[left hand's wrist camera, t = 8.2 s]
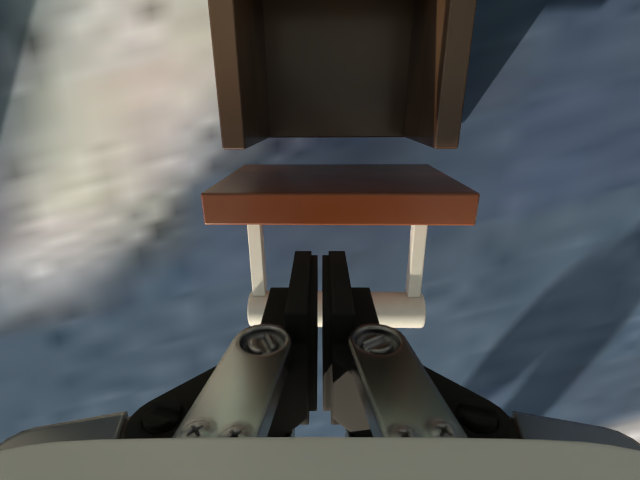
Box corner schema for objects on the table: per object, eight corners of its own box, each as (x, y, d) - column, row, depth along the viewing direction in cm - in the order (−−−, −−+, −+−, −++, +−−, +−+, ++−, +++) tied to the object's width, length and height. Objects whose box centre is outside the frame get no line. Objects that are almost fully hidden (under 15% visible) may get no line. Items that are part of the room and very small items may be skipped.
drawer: (416, 287, 21) (454, 365, 15) (253, 286, 21) (221, 362, 15) (474, -291, 13) (619, -691, 6) (208, -282, 13) (92, -655, 7)
